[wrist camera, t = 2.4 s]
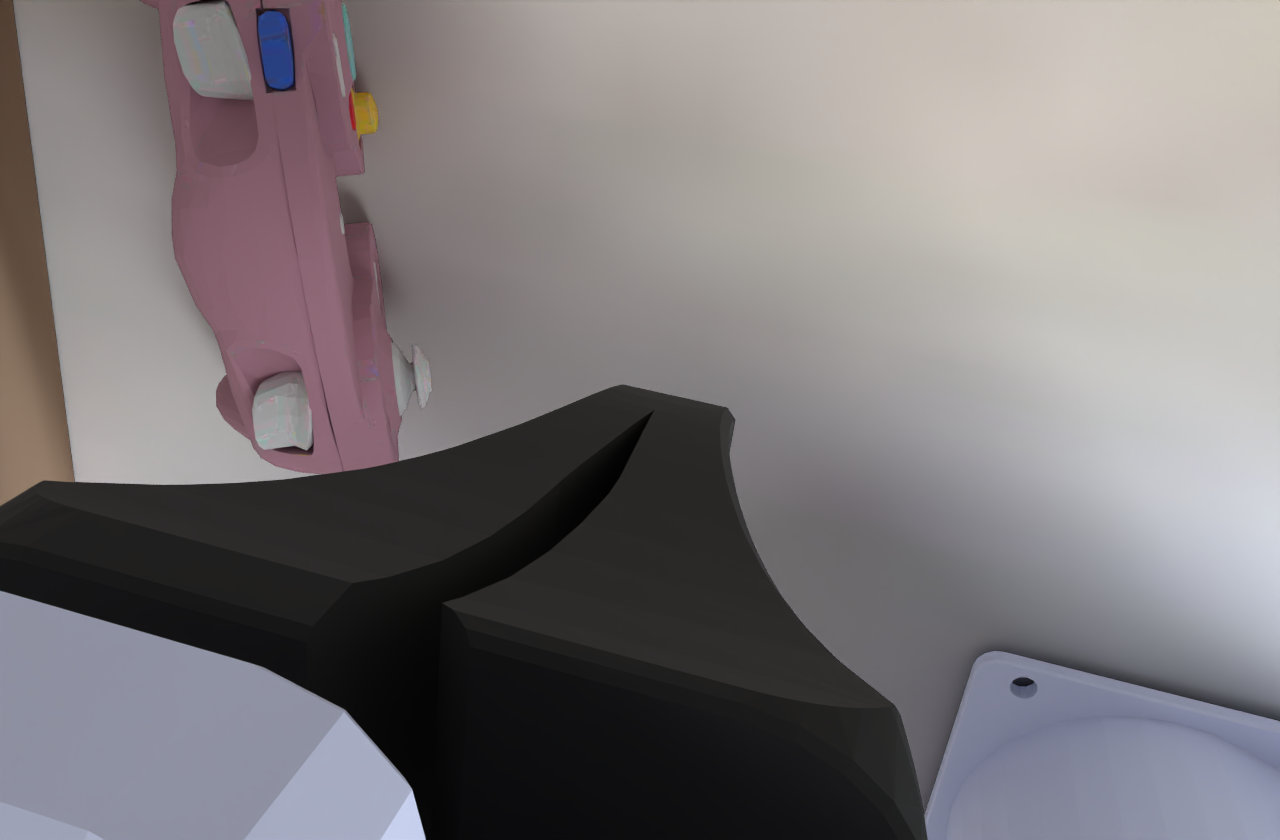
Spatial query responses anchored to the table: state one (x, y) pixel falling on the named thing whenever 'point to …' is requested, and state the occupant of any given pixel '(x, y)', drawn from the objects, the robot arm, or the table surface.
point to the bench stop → (25, 302)
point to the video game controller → (283, 229)
